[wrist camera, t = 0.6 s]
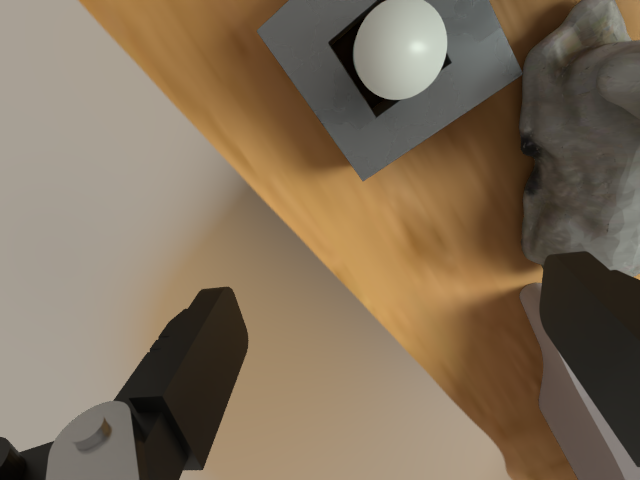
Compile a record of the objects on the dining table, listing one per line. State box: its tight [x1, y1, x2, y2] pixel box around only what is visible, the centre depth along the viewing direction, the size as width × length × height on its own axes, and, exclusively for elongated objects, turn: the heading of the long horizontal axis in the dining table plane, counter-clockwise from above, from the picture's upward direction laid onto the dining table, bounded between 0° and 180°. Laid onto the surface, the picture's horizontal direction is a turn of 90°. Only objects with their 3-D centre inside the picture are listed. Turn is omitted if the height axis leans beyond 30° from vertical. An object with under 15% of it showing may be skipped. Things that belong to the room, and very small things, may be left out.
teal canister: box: [352, 0, 447, 100], centre depth 22 cm, size 5×5×10 cm
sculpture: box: [519, 0, 640, 277], centre depth 22 cm, size 11×21×15 cm, turn 27°
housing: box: [257, 0, 523, 181], centre depth 24 cm, size 12×12×5 cm
